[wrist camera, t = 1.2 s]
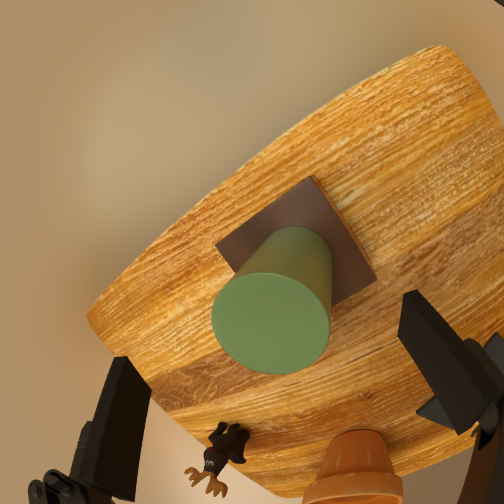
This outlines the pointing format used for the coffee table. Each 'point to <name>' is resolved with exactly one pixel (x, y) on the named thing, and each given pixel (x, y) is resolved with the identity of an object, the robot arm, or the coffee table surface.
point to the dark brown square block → (315, 219)
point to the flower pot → (356, 472)
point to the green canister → (278, 304)
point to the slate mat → (499, 352)
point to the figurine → (220, 456)
